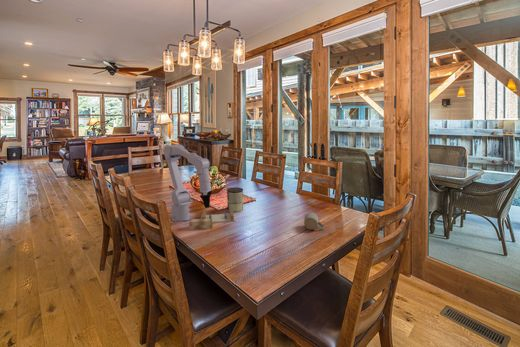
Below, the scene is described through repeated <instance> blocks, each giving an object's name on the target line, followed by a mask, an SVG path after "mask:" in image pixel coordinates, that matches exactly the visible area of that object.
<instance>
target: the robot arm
mask: <svg viewBox="0 0 520 347" xmlns="http://www.w3.org/2000/svg"><path fill="white" fill-rule="evenodd" d="M163 155H164V158H165V161H166V163H167V166H168V171H169V175H170V177H171V178H170V179H171V181H172V185H173V189H174V190H172V192H171V193H170V194H171V201H172V204H171V221H172V222H183V221H187V222H188V221H190V217H191V215H189V204H190V202H191V199H192V196H191V193H190V192H189V190H188V188H186V187H184V184H183V180H182V177H181V176H182V175H181V173H180V170H179V166H178V160H179V159H180V158H181V157H183V158H186V160H187V162H188V163H189V164H192V165H193V166H194V169H195V170H196V173H197V175H198V178H197V179H198V184H199V192H200V195H199V197H200V199H201V201H202V203H203V206H204V208H205V209H207V208H210V205H211V196H212V191H213V190H214V188H212V186H211V179H210V172H209V169H210V167H211V162H210V160H209V159H208V158H207V157H204V158H203V157H202V156H201V155H200V156H199V154H197V153H196V152H189V151H188V150H187V149H186V148H185V146H184V145H183V144H180V143H178V144H170V145H168V144H166V145H165V146H164V148H163Z"/></svg>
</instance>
